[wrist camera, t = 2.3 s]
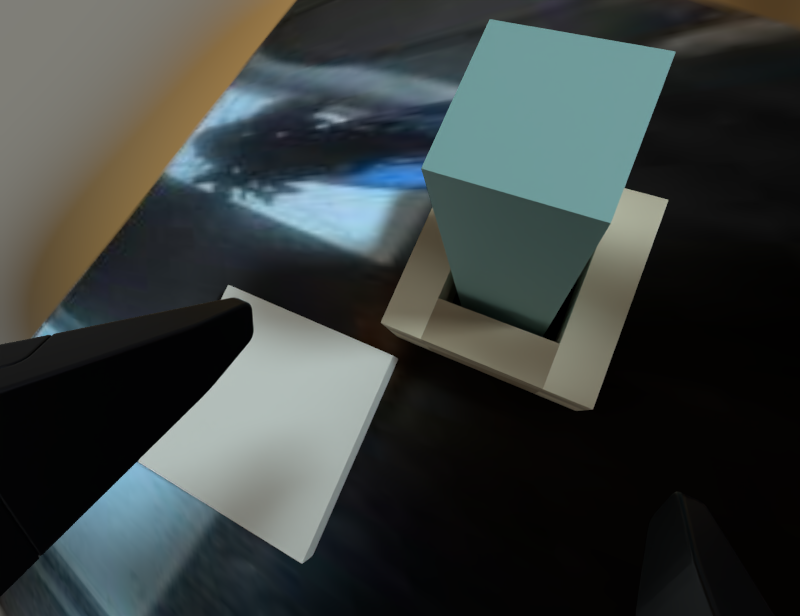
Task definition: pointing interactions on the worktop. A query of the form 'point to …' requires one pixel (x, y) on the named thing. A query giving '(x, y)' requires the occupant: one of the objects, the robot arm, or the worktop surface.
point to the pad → (278, 428)
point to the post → (536, 163)
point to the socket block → (520, 350)
